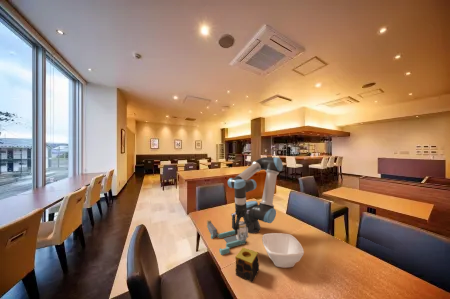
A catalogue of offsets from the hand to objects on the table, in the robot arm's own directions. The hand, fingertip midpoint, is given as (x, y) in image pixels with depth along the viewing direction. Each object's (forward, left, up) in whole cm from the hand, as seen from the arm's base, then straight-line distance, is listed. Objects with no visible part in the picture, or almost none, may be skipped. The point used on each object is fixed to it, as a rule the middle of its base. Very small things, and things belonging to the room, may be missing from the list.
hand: (242, 237), depth 103 cm
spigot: (0, 0, 0) cm, 0 cm away
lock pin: (+32, -14, -10) cm, 36 cm away
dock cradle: (+13, -7, -10) cm, 18 cm away
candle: (-8, +16, -10) cm, 20 cm away
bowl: (-25, 0, -10) cm, 27 cm away
